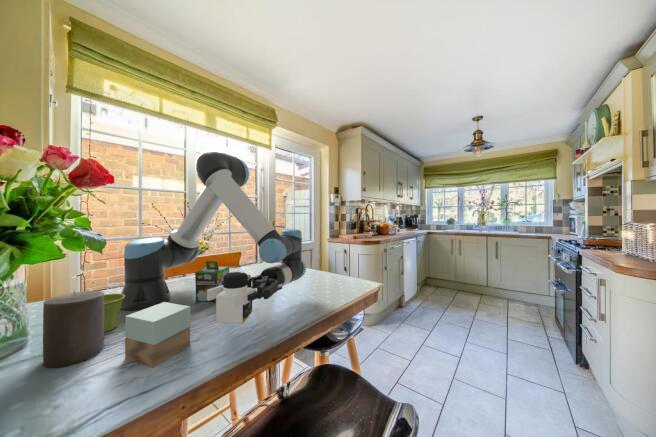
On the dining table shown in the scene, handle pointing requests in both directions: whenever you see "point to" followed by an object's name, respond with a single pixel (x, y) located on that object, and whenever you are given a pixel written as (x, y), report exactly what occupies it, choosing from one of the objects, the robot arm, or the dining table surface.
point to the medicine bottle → (232, 299)
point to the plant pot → (112, 310)
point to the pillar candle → (72, 328)
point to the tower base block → (156, 349)
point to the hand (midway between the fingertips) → (221, 298)
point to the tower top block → (157, 322)
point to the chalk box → (209, 280)
